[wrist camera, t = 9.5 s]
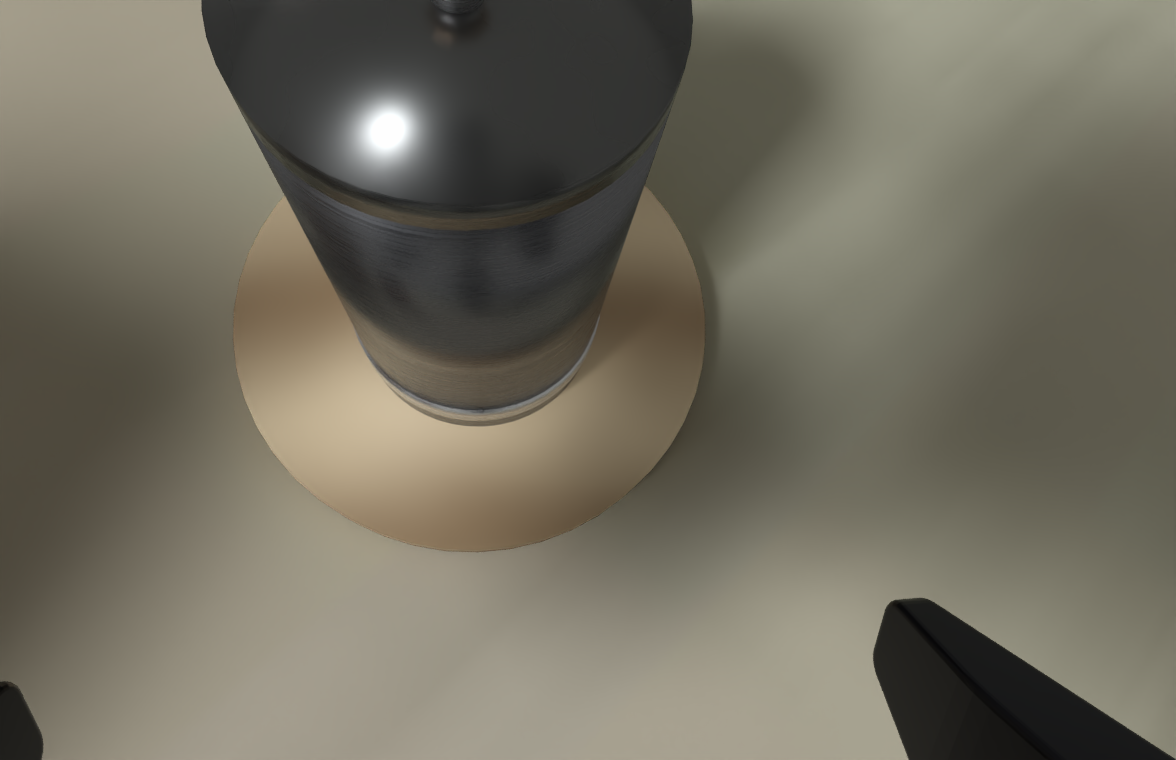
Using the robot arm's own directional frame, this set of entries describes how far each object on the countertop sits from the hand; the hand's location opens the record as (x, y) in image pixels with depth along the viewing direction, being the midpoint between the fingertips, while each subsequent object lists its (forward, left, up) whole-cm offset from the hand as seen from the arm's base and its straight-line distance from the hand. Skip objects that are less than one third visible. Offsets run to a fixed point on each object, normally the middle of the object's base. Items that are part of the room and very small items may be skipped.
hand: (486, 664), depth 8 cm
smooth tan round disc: (+8, -1, -10) cm, 13 cm away
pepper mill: (+8, -1, -9) cm, 12 cm away
